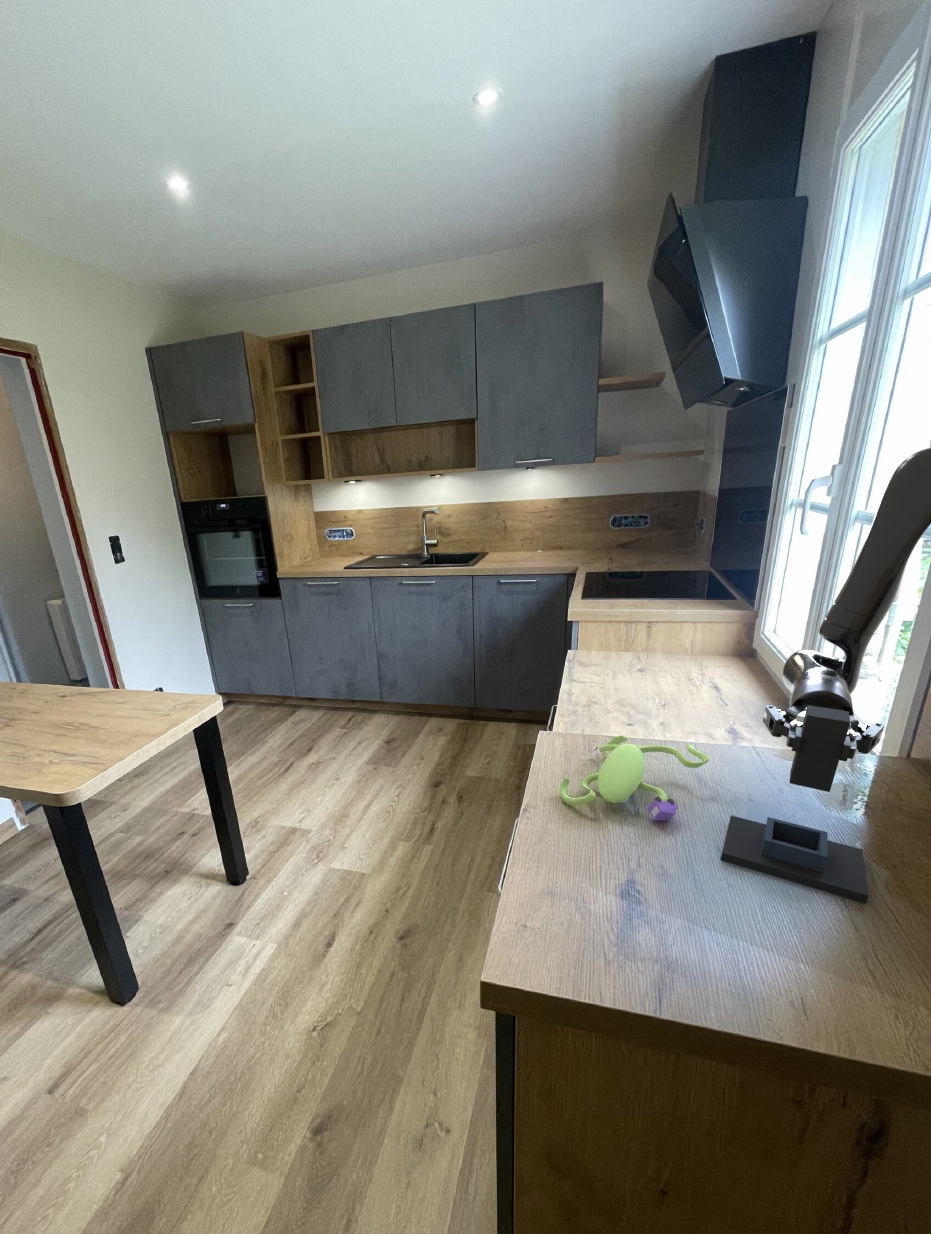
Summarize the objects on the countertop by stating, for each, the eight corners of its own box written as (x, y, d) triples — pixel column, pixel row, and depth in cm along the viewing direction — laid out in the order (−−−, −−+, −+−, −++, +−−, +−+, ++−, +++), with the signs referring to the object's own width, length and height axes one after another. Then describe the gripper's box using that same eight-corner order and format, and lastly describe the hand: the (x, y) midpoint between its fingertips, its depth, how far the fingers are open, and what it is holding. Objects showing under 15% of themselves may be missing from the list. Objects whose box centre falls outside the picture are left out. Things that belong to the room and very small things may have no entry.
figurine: (711, 772, 100) (717, 744, 97) (665, 842, 81) (670, 810, 79) (610, 745, 111) (613, 719, 109) (549, 801, 92) (551, 771, 90)
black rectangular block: (829, 779, 74) (849, 711, 71) (829, 792, 71) (850, 722, 68) (790, 771, 77) (807, 704, 73) (789, 783, 74) (807, 715, 70)
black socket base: (860, 856, 77) (867, 834, 75) (865, 903, 68) (874, 879, 67) (729, 821, 85) (734, 801, 84) (720, 859, 77) (725, 837, 76)
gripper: (769, 674, 85) (761, 711, 72) (888, 690, 77) (903, 735, 65) (759, 718, 88) (749, 762, 75) (873, 738, 80) (884, 790, 67)
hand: (820, 749), depth 70 cm, fingers closed on black rectangular block, 4 cm apart
